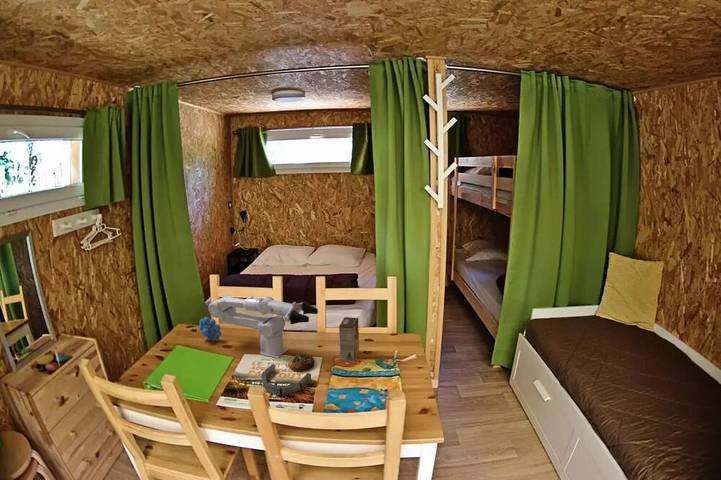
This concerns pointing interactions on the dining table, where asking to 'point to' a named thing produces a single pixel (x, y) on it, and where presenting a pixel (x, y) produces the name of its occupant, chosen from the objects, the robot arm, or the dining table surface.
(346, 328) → the coffee box
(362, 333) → the dining table surface
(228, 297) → the robot arm
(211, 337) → the grapes
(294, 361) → the bread roll
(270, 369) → the collar
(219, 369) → the dining table surface
